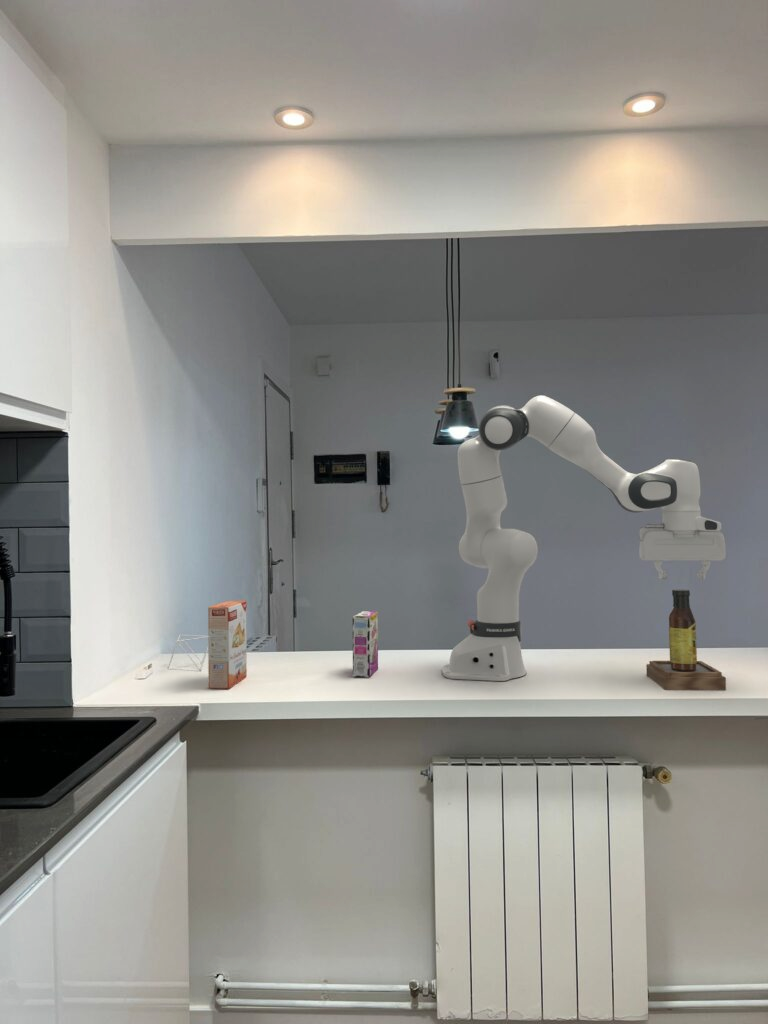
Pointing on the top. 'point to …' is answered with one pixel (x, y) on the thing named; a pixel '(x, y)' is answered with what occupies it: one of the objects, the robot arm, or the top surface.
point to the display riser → (685, 677)
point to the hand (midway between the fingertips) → (682, 578)
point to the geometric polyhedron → (187, 654)
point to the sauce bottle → (682, 633)
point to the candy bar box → (365, 644)
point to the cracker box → (227, 644)
